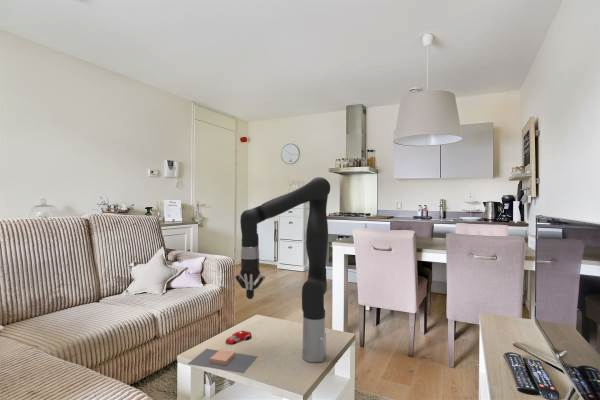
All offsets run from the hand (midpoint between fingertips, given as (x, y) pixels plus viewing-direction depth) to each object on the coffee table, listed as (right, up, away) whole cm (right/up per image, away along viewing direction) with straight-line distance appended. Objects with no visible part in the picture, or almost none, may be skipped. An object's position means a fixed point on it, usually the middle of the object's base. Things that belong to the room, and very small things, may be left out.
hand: (250, 298), depth 137 cm
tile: (-7, -22, -6) cm, 24 cm away
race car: (-8, -25, +15) cm, 30 cm away
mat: (-10, -24, -5) cm, 26 cm away
